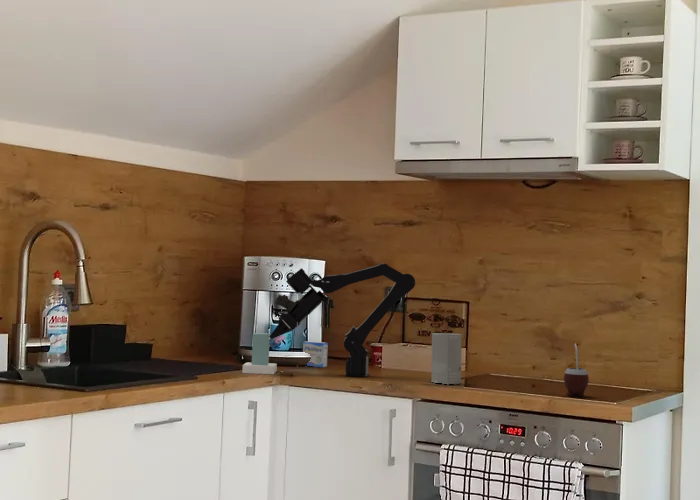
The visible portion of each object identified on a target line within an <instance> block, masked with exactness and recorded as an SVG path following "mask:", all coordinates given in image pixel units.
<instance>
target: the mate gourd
mask: <svg viewBox="0 0 700 500" xmlns="http://www.w3.org/2000/svg"><path fill="white" fill-rule="evenodd" d="M574 348H575V364H576V365H575V366H576V367H568V368H567V369H565V371H564V374H563V382H564V385H565V388H566V389H567V393H566V395H567V396H566V397H568V398H571V397H573V398H575V397H576V398H577V397H578V398H582V399H583V398H585V391H586V389H587V387H588V385H589V373H588V371H587V369H585V368H580V367H579V351H578V347H577V343H574Z"/></svg>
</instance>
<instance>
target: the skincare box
mask: <svg viewBox="0 0 700 500" xmlns="http://www.w3.org/2000/svg"><path fill="white" fill-rule="evenodd" d="M462 335H463V334H462V333H461V334H460V333H443V332H442V333H440V332H439V333H437V332H435V333H434V332H433V333H432V334H431V382H434V383H433V384H435V383H442V384H441V385H444V384H454V385H458V384H459V385H460V383H461V384H462V338H463V337H462Z"/></svg>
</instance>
